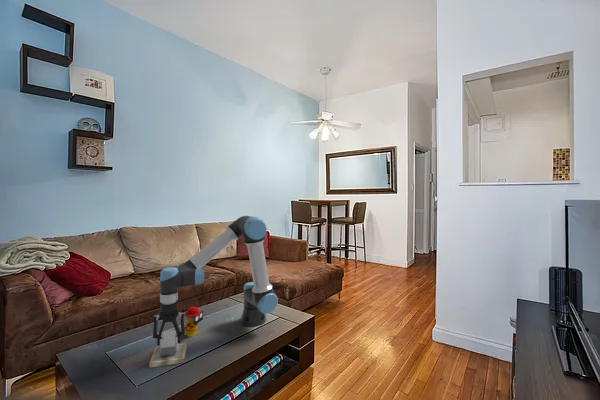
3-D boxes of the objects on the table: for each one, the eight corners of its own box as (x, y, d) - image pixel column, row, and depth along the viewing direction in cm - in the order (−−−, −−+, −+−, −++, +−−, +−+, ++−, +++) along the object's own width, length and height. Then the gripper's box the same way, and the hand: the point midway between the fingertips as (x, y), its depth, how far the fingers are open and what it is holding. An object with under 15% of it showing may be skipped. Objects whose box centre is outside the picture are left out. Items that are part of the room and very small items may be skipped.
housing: (175, 355, 132) (175, 337, 132) (160, 357, 130) (160, 339, 130) (177, 346, 139) (177, 329, 139) (163, 348, 138) (163, 331, 137)
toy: (194, 340, 150) (194, 311, 150) (178, 338, 152) (178, 310, 152) (205, 330, 161) (205, 303, 161) (190, 328, 163) (191, 302, 163)
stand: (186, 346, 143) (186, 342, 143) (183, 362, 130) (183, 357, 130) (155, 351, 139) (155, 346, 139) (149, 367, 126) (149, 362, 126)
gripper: (191, 296, 141) (191, 343, 141) (148, 300, 135) (148, 349, 136) (190, 302, 133) (190, 351, 134) (144, 306, 128) (144, 358, 128)
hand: (169, 350), depth 135 cm, fingers closed on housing, 6 cm apart
